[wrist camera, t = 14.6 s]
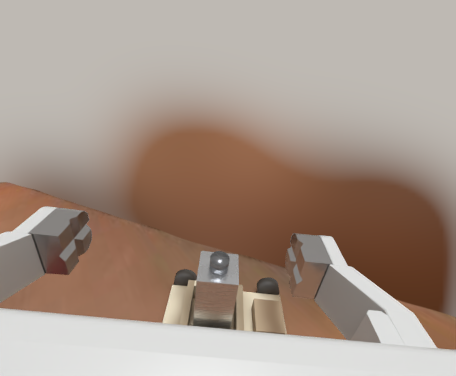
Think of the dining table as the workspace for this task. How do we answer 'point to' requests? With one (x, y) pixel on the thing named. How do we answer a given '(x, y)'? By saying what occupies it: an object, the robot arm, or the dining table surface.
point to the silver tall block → (216, 289)
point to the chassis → (243, 311)
